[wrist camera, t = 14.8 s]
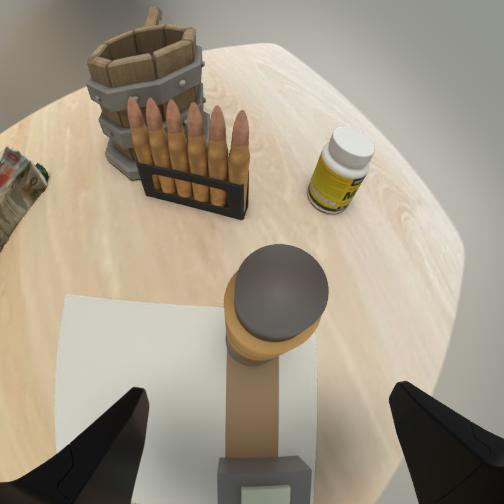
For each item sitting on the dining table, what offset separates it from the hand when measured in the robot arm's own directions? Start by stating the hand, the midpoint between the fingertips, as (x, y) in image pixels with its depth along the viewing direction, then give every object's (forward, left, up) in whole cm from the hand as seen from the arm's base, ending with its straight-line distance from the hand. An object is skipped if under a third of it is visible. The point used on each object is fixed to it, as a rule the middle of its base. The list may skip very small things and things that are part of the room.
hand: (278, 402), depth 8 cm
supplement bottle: (+19, -8, -14) cm, 25 cm away
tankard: (+30, +12, -14) cm, 35 cm away
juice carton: (+14, +34, -14) cm, 39 cm away
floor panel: (-3, +6, -13) cm, 15 cm away
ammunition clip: (+17, +6, -14) cm, 23 cm away
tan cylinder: (+4, 0, -12) cm, 13 cm away
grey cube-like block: (-8, -1, -12) cm, 15 cm away
